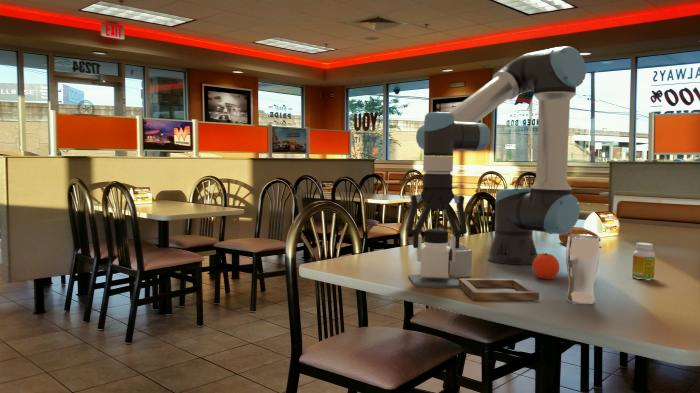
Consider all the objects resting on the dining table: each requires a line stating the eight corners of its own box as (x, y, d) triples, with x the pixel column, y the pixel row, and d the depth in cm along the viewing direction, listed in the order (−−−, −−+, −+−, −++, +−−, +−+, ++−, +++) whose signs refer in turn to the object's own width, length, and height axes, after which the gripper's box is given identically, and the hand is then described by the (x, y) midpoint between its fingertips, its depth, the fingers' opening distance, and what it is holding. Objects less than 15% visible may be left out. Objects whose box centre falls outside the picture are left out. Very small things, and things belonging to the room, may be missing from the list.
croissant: (562, 252, 214) (563, 232, 212) (555, 241, 229) (556, 221, 227) (603, 253, 211) (604, 232, 209) (594, 241, 226) (595, 222, 224)
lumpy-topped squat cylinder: (430, 268, 168) (431, 238, 167) (475, 272, 163) (476, 242, 162) (420, 274, 159) (421, 243, 158) (466, 279, 153) (467, 247, 153)
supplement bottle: (645, 281, 154) (647, 245, 153) (627, 277, 158) (629, 242, 158) (658, 279, 156) (660, 244, 155) (640, 275, 161) (642, 241, 160)
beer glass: (558, 297, 134) (561, 234, 133) (587, 297, 134) (590, 234, 133) (572, 305, 127) (575, 238, 126) (603, 305, 127) (606, 238, 126)
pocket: (517, 285, 145) (517, 278, 145) (538, 300, 131) (538, 292, 130) (458, 285, 145) (459, 278, 145) (473, 300, 130) (473, 292, 130)
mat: (452, 277, 154) (452, 275, 154) (463, 287, 142) (463, 285, 142) (408, 277, 154) (408, 275, 154) (415, 287, 142) (415, 285, 142)
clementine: (523, 276, 158) (524, 251, 157) (543, 274, 160) (544, 249, 160) (544, 282, 150) (545, 255, 150) (564, 280, 153) (565, 254, 153)
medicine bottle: (448, 278, 144) (449, 231, 143) (420, 277, 145) (421, 230, 145) (449, 273, 151) (450, 228, 150) (422, 271, 152) (423, 227, 151)
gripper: (474, 173, 150) (471, 258, 152) (395, 172, 150) (393, 257, 151) (481, 173, 143) (479, 263, 145) (398, 172, 142) (397, 263, 144)
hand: (435, 260), depth 148 cm, fingers closed on medicine bottle, 8 cm apart
